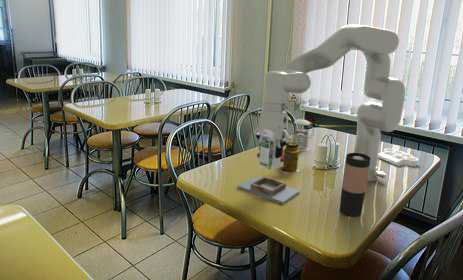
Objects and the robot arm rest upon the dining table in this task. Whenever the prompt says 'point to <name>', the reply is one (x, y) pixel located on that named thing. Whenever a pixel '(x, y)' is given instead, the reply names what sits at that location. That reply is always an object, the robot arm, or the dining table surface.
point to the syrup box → (268, 150)
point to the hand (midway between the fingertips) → (270, 154)
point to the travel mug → (354, 184)
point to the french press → (304, 139)
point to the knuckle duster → (398, 157)
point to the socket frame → (265, 190)
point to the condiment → (290, 158)
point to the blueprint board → (279, 197)
